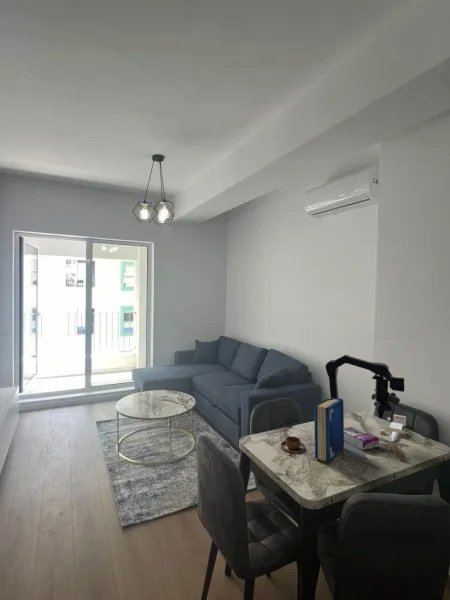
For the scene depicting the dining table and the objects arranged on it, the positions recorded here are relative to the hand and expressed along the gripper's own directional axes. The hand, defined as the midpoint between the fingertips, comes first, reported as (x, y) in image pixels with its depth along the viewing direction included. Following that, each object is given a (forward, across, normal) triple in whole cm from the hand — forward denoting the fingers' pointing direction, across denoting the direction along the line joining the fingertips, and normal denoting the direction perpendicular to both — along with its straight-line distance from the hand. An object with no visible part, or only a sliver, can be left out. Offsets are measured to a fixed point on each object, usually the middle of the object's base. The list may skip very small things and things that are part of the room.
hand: (380, 418), depth 171 cm
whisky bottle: (+14, +18, -10) cm, 25 cm away
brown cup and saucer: (+14, -20, +39) cm, 46 cm away
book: (+13, -19, +25) cm, 34 cm away
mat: (+13, -12, +14) cm, 23 cm away
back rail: (+13, -11, -6) cm, 18 cm away
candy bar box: (+10, -10, +6) cm, 15 cm away
